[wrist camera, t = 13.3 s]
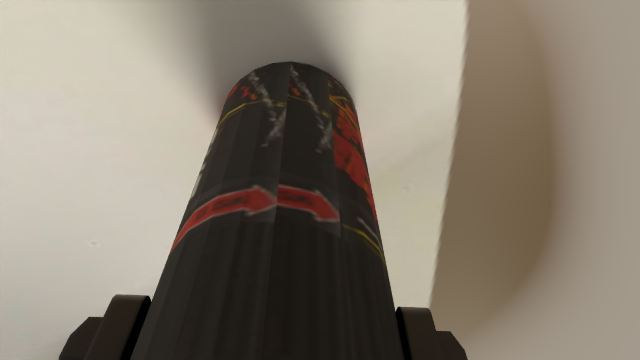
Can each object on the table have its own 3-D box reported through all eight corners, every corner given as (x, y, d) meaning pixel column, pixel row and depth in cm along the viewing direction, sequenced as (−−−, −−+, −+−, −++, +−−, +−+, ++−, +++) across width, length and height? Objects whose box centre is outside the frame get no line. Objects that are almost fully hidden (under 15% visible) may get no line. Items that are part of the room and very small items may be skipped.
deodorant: (217, 58, 18) (18, 450, 6) (364, 64, 19) (473, 452, 6) (226, 181, 22) (112, 599, 9) (351, 185, 22) (406, 596, 9)
